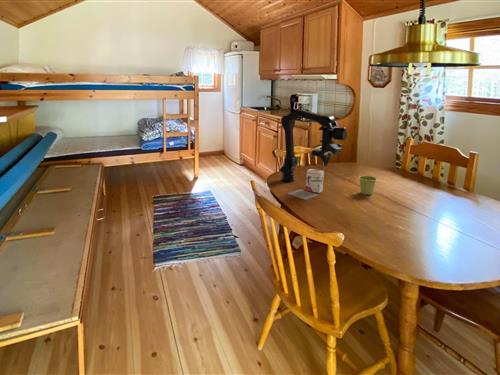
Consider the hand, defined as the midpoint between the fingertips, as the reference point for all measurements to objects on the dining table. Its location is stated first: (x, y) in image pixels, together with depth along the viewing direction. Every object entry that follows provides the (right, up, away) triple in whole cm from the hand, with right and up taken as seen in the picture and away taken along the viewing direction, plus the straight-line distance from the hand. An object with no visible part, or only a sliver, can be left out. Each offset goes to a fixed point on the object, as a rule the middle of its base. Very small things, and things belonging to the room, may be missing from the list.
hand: (325, 166), depth 206 cm
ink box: (-7, -14, -1) cm, 16 cm away
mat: (-14, -16, -7) cm, 22 cm away
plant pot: (+21, -15, -6) cm, 27 cm away
